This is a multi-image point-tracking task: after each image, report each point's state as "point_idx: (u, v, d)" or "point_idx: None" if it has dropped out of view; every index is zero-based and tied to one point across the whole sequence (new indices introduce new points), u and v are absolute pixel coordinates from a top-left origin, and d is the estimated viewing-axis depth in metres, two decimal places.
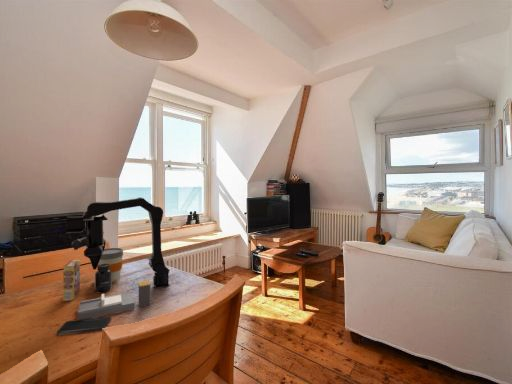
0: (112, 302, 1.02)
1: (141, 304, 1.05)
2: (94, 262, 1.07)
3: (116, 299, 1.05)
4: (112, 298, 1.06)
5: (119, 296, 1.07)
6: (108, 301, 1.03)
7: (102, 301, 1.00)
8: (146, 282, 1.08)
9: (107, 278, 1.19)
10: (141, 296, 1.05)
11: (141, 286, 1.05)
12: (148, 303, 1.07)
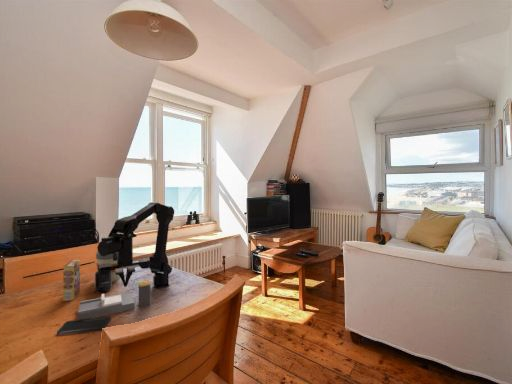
0: (112, 302, 1.02)
1: (141, 304, 1.05)
2: (122, 279, 1.06)
3: (116, 299, 1.05)
4: (112, 298, 1.06)
5: (119, 296, 1.07)
6: (108, 301, 1.03)
7: (102, 301, 1.00)
8: (146, 282, 1.08)
9: (107, 278, 1.19)
10: (141, 296, 1.05)
11: (141, 286, 1.05)
12: (148, 303, 1.07)
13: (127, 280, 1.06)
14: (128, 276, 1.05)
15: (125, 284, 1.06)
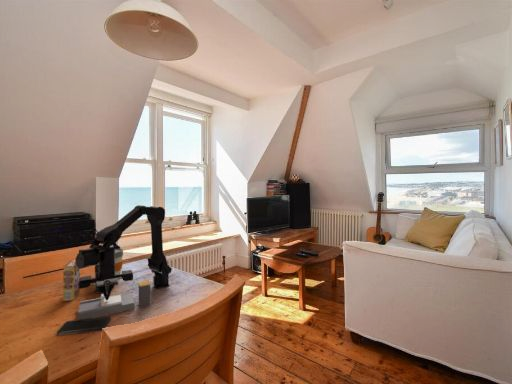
0: (112, 302, 1.02)
1: (141, 304, 1.05)
2: None
3: (116, 299, 1.05)
4: (112, 298, 1.05)
5: (119, 296, 1.07)
6: (108, 301, 1.03)
7: (102, 301, 1.00)
8: (146, 282, 1.08)
9: None
10: (141, 296, 1.05)
11: (141, 286, 1.05)
12: (148, 303, 1.07)
13: (109, 293, 1.02)
14: (110, 289, 1.02)
15: (107, 297, 1.02)
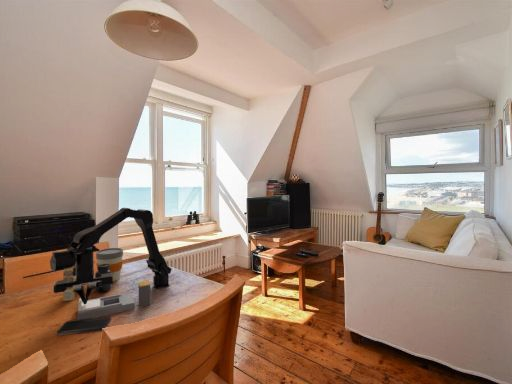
0: (90, 307, 0.98)
1: (141, 304, 1.05)
2: None
3: (94, 303, 1.01)
4: (90, 302, 1.02)
5: (98, 300, 1.04)
6: (86, 305, 0.99)
7: (79, 306, 0.96)
8: (146, 282, 1.08)
9: None
10: (141, 296, 1.05)
11: (141, 286, 1.05)
12: (148, 303, 1.07)
13: (86, 297, 0.98)
14: (87, 293, 0.98)
15: (84, 301, 0.99)
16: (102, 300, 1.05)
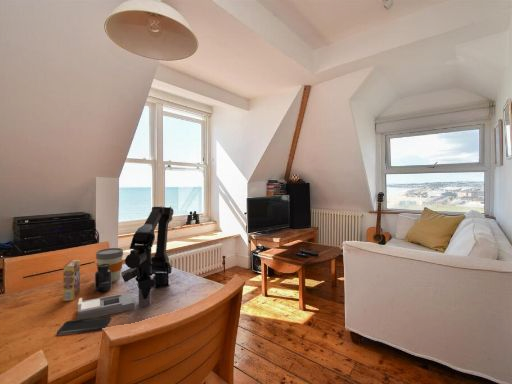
0: (89, 307, 0.98)
1: (141, 304, 1.05)
2: (145, 292, 1.05)
3: (94, 303, 1.01)
4: (90, 302, 1.02)
5: (98, 300, 1.04)
6: (86, 305, 0.99)
7: (79, 306, 0.96)
8: None
9: (107, 278, 1.19)
10: (141, 296, 1.05)
11: None
12: (148, 303, 1.07)
13: None
14: None
15: None
16: (102, 300, 1.05)
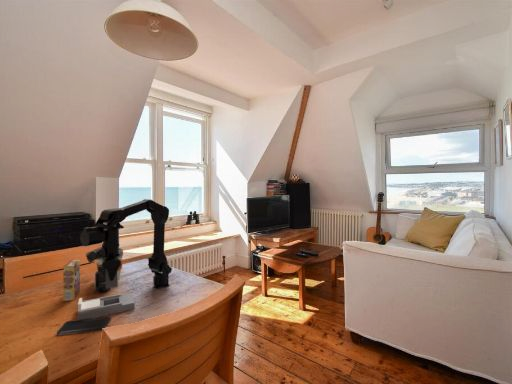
0: (89, 307, 0.98)
1: (107, 286, 1.02)
2: (111, 273, 1.01)
3: (94, 303, 1.01)
4: (90, 302, 1.02)
5: (98, 300, 1.04)
6: (86, 305, 0.99)
7: (79, 306, 0.96)
8: None
9: None
10: (107, 277, 1.01)
11: None
12: (115, 285, 1.03)
13: None
14: None
15: None
16: (102, 300, 1.05)
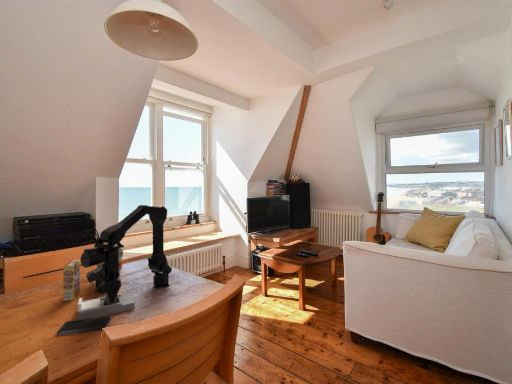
0: (89, 307, 0.98)
1: None
2: (111, 296, 0.99)
3: (94, 303, 1.01)
4: (90, 302, 1.02)
5: (98, 300, 1.04)
6: (86, 305, 0.99)
7: (79, 306, 0.96)
8: None
9: None
10: (107, 300, 1.02)
11: None
12: None
13: None
14: None
15: None
16: (102, 300, 1.05)
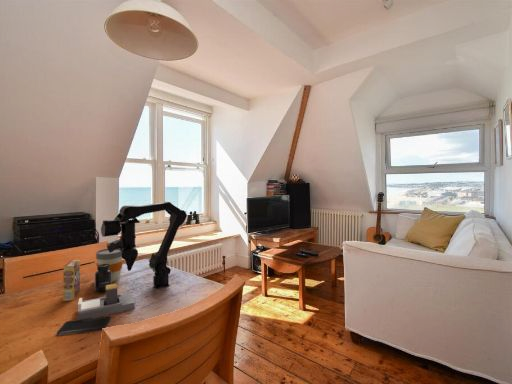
0: (89, 307, 0.98)
1: None
2: (129, 264, 1.11)
3: (94, 303, 1.01)
4: (90, 302, 1.02)
5: (98, 300, 1.04)
6: (86, 305, 0.99)
7: (79, 306, 0.96)
8: (114, 285, 1.05)
9: (107, 278, 1.19)
10: (107, 300, 1.02)
11: (107, 289, 1.02)
12: None
13: None
14: None
15: None
16: (102, 300, 1.05)
